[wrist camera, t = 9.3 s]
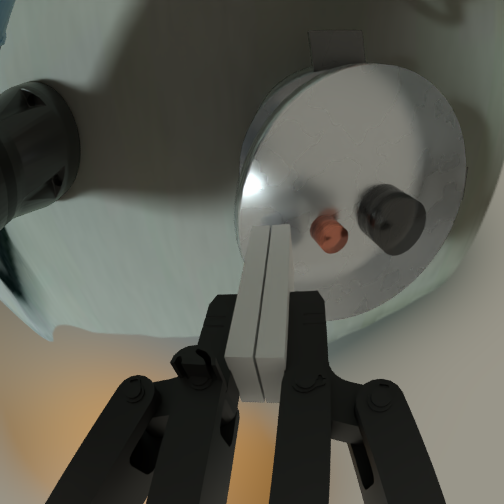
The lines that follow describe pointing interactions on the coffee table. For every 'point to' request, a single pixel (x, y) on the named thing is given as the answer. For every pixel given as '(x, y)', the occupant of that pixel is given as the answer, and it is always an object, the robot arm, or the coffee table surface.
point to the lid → (356, 182)
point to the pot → (309, 72)
